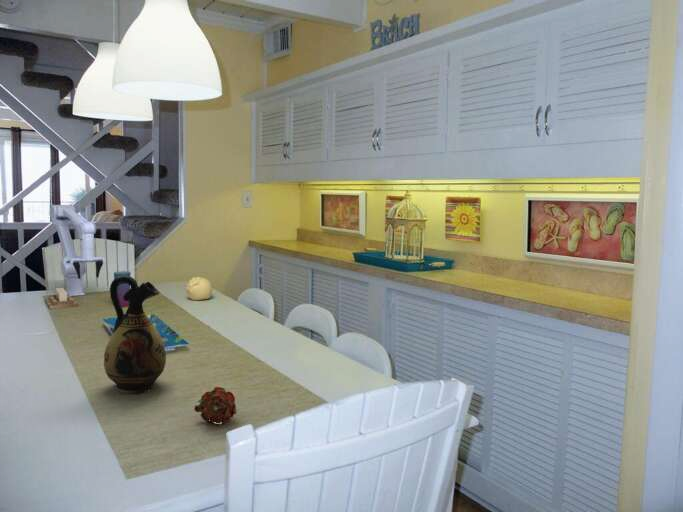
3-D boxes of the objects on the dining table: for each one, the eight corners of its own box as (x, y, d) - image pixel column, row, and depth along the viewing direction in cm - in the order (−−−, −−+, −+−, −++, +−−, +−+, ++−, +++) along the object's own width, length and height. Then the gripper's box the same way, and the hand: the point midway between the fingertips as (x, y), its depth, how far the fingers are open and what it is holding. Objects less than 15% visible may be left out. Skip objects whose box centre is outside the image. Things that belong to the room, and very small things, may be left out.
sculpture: (185, 297, 261) (185, 275, 260) (211, 296, 265) (211, 274, 263) (186, 302, 250) (186, 279, 249) (213, 301, 254) (213, 278, 252)
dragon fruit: (223, 439, 120) (206, 426, 130) (251, 411, 124) (233, 400, 134) (199, 413, 118) (184, 401, 128) (228, 384, 121) (211, 375, 131)
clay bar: (55, 299, 245) (55, 288, 244) (63, 298, 247) (62, 287, 246) (59, 304, 235) (59, 292, 235) (67, 303, 237) (66, 292, 236)
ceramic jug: (173, 377, 153) (171, 272, 149) (156, 398, 138) (154, 282, 134) (112, 376, 153) (108, 271, 149) (88, 398, 137) (84, 280, 134)
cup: (114, 305, 241) (113, 271, 239) (130, 304, 244) (130, 270, 242) (115, 308, 235) (114, 273, 233) (132, 307, 237) (131, 273, 236)
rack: (45, 300, 245) (44, 295, 245) (72, 298, 252) (71, 293, 251) (50, 308, 231) (49, 303, 230) (78, 306, 237) (78, 300, 236)
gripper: (71, 250, 241) (72, 280, 243) (106, 248, 249) (107, 278, 251) (68, 248, 247) (69, 278, 249) (103, 247, 255) (103, 275, 257)
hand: (88, 277), depth 250 cm, fingers open, 7 cm apart
